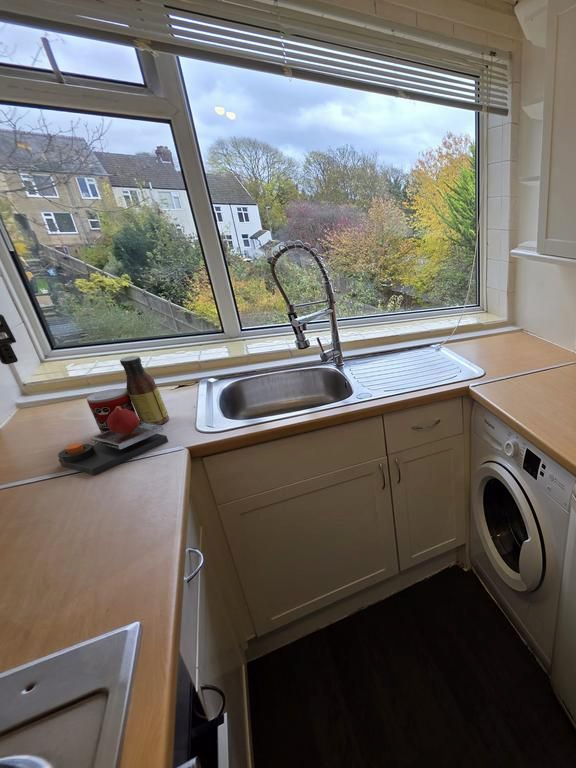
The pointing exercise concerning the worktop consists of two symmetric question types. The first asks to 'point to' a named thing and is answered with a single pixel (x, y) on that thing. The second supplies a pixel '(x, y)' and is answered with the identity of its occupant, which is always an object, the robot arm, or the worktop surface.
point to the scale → (107, 455)
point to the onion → (122, 421)
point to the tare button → (74, 448)
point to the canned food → (108, 405)
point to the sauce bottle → (143, 392)
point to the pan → (127, 436)
